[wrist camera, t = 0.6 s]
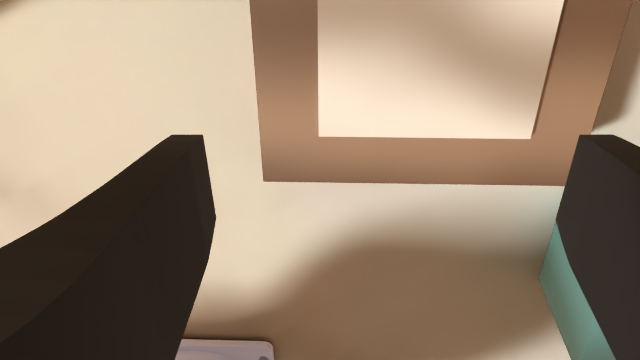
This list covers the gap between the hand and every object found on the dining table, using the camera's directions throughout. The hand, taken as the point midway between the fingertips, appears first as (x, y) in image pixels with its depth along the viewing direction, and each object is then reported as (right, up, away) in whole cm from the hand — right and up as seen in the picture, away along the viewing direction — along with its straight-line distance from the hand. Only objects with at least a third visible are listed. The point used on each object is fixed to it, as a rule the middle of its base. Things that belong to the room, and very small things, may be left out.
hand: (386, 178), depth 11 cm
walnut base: (+2, +6, +8) cm, 10 cm away
